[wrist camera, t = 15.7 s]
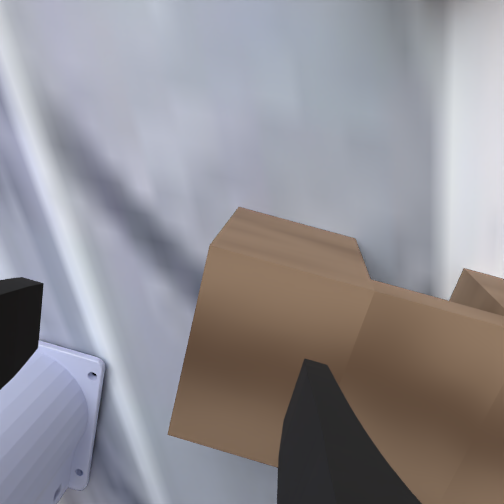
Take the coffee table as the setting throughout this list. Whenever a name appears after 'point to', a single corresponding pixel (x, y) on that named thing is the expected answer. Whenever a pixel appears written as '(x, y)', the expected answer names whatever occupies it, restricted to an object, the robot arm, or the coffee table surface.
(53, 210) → the coffee table surface
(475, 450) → the brown notched block
